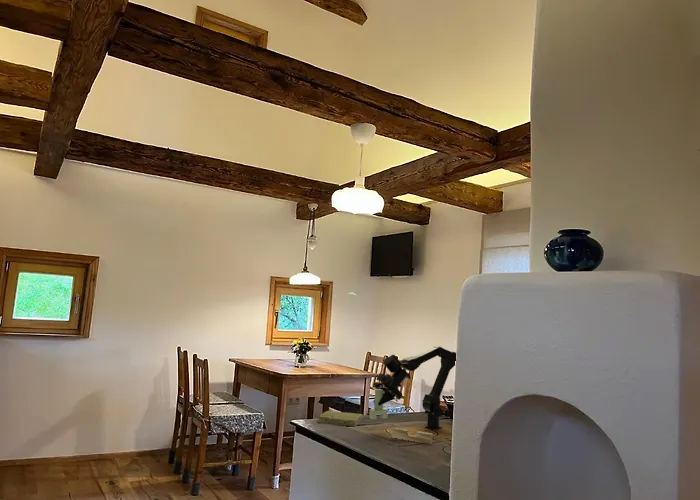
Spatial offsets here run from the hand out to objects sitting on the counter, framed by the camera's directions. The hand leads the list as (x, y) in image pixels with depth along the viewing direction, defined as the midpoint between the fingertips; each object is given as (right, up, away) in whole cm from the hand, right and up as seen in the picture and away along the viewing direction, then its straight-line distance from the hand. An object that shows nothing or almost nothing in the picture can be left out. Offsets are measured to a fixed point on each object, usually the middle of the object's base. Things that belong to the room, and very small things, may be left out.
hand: (376, 403), depth 251 cm
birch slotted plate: (+15, -12, -14) cm, 24 cm away
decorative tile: (-17, -15, +20) cm, 31 cm away
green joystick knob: (+1, -7, 0) cm, 7 cm away
